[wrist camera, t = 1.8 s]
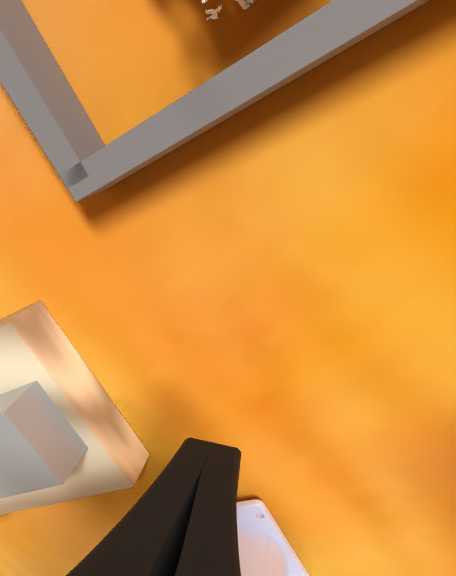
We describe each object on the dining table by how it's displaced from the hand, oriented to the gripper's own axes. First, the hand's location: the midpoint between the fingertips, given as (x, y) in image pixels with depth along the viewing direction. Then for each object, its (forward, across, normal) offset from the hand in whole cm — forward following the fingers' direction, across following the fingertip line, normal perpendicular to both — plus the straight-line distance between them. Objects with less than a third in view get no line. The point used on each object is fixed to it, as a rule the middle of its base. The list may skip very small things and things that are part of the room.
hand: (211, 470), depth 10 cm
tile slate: (+8, +12, +9) cm, 17 cm away
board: (+10, +15, +11) cm, 22 cm away
